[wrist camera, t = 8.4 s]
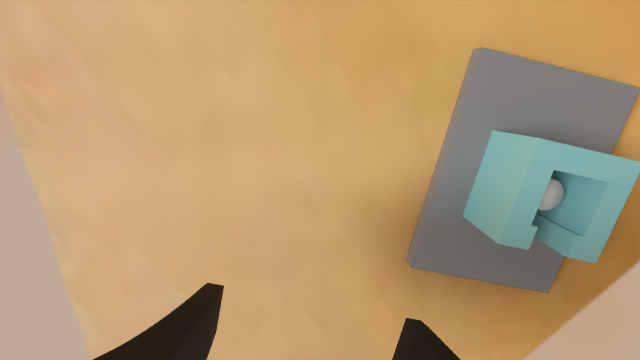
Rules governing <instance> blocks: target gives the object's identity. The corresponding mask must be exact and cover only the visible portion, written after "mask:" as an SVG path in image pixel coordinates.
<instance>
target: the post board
mask: <svg viewBox="0 0 640 360" xmlns="http://www.w3.org/2000/svg"><path fill="white" fill-rule="evenodd" d="M639 91H640V88H639V87H635V86H631V85H627V84H624V83H620V82H616V81H612V80H608V79H604V78H600V77H596V76H592V75H588V74H584V73H580V72H577V71H573V70H569V69H565V68H561V67H557V66H553V65H549V64H545V63H541V62H537V61H533V60H530V59H526V58H522V57H518V56H514V55H510V54H506V53H502V52H498V51H494V50H490V49H486V48H483V47H481V48H478V49H475V50H473V52H472V55H471V58H470V61H469V64H468V68H467V71H466V74H465V77H464V80H463V83H462V86H461V90H460V93H459V96H458V99H457V102H456V105H455V108H454V112H453V115H452V118H451V121H450V124H449V127H448V130H447V133H446V137H445V140H444V143H443V146H442V149H441V152H440V155H439V159H438V162H437V165H436V168H435V171H434V174H433V177H432V181H431V184H430V187H429V190H428V193H427V196H426V199H425V203H424V206H423V209H422V212H421V215H420V218H419V221H418V225H417V228H416V231H415V234H414V237H413V240H412V243H411V247H410V250H409V253H408V256H407V259H406V260H407V262H408V264H409V265H410V267H412V268H417V269H422V270H428V271H433V272H438V273H443V274H449V275H454V276H459V277H464V278H470V279H475V280H480V281H485V282H491V283H496V284H501V285H506V286H512V287H517V288H522V289H527V290H533V291H538V292H543V293H549V291H550V289H551V286H552V284H553V282H554V280H555V277H556V275H557V273H558V271H559V269H560V266H561V264H562V262H563V260H564V257H565V256H563V255H562V254H560V253H559V252H557V251H555V250H554V249H552V248H550V247H549V246H547V245H546V244H544V243H542V242H541V241H539V240H538V239H536V238H533V241H532V243H531V246H530V248H529V250H526V249H521V248H516V247H511V246H506V245H501V244H498V243H496V242H495V241H494V240H493V239H491V238H490V237H489V236H487V235H486V234H485V233H484V232H482V231H481V230H480V229H478V228H477V227H476V226H474V225H473V224H472V223H471V222H469V221H468V220H467V219H465V218H464V217H463V213H464V210H465V208H466V205H467V202H468V199H469V196H470V193H471V191H472V188H473V185H474V182H475V179H476V176H477V174H478V171H479V168H480V165H481V162H482V159H483V157H484V154H485V151H486V148H487V145H488V142H489V139H490V137H491V134H492V131H493V130H495V131H501V132H506V133H512V134H518V135H524V136H530V137H535V138H541V139H545V140H549V141H554V142H558V143H562V144H567V145H571V146H575V147H579V148H584V149H588V150H592V151H597V152H601V153H605V154H609V155H611V153H612V151H613V149H614V147H615V144H616V142H617V140H618V138H619V136H620V133H621V131H622V129H623V127H624V124H625V122H626V120H627V118H628V116H629V113H630V111H631V109H632V107H633V105H634V102H635V100H636V98H637V96H638V93H639ZM563 195H564V189H563V186H562V184H561V183H560V182H559V181H557V180H554V179H551V178H550V181H549V183H548V186H547V188H546V191H545V193H544V195H543V198H542V200H541V203H540V205H539V208H538V209H539V210H550V209H553V208H554V207H556V206H557V205H558V204H559V203H560V202H561V200H562V198H563Z"/></svg>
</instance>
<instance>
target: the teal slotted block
mask: <svg viewBox="0 0 640 360" xmlns="http://www.w3.org/2000/svg"><path fill="white" fill-rule="evenodd" d="M639 173H640V162H639V161H635V160H631V159H627V158H622V157H618V156H614V155H609V154H605V153H601V152H597V151H592V150H588V149H584V148H579V147H575V146H571V145H567V144H562V143H558V142H554V141H549V140H545V139H541V138H535V137H530V136H524V135H518V134H512V133H506V132H501V131H495V130H493V131H492V134H491V137H490V139H489V142H488V145H487V148H486V151H485V154H484V157H483V159H482V162H481V165H480V168H479V171H478V174H477V176H476V179H475V182H474V185H473V188H472V191H471V193H470V196H469V199H468V202H467V205H466V208H465V210H464V213H463V217H464V218H465V219H467V220H468V221H469V222H471V223H472V224H473V225H474V226H476V227H477V228H478V229H480V230H481V231H482V232H484V233H485V234H486V235H487V236H489V237H490V238H491V239H493V240H494V241H495V242H496V243H498V244H501V245H506V246H511V247H516V248H521V249H526V250H529V248H530V246H531V243H532V241H533V238H536V239H538V240H539V241H541V242H542V243H544V244H546V245H547V246H549V247H550V248H552V249H554V250H555V251H557V252H559V253H560V254H562V255H563V256H565V257H567V258H571V259H576V260H581V261H586V262H590V263H595V264H596V263H597V261H598V259H599V257H600V255H601V252H602V250H603V248H604V246H605V244H606V242H607V240H608V238H609V236H610V234H611V232H612V230H613V227H614V225H615V223H616V221H617V219H618V217H619V215H620V213H621V211H622V209H623V207H624V205H625V202H626V200H627V198H628V196H629V194H630V192H631V190H632V188H633V186H634V184H635V182H636V180H637V177H638V175H639ZM550 178H551V179H554V180H557V181H559V182H560V183H561V184H562V186H563V189H564V195H563V198H562V200H561V202H560V203H559V204H558V205H557V206H556V207H554V208H553V209H550V210H539V209H538V208H539V205H540V203H541V200H542V198H543V195H544V193H545V191H546V188H547V186H548V183H549V181H550Z"/></svg>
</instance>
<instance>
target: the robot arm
mask: <svg viewBox="0 0 640 360" xmlns="http://www.w3.org/2000/svg"><path fill="white" fill-rule="evenodd" d="M223 288H224V286H222V285H217V284H211V283H207V284H205V285H204V286H203V287H202V288H200V289H199V290H198V291H197V292H196V293H195V294H193V295H192V296H191V297H190V298H189V299H187V300H186V301H185V302H184V303H183V304H181V305H180V306H179V307H177V308H176V309H175V310H174V311H172V312H171V313H170V314H168V315H167V316H166V317H164V318H163V319H161V320H160V321H159V322H157V323H156V324H154V325H153V326H151V327H150V328H148V329H147V330H145V331H144V332H142V333H141V334H139V335H138V336H136V337H134V338H133V339H131V340H129V341H128V342H126V343H124V344H122V345H121V346H119V347H117V348H115V349H113V350H111V351H109V352H107V353H105V354H103V355H101V356H99V357H97V358H95V359H93V360H206V359H207V357H208V354H209V351H210V348H211V345H212V342H213V339H214V337H215V334H216V330H217V324H218V318H219V312H220V306H221V300H222V294H223ZM392 360H460V359H459V358H458V357H457V356H456V355H455V354H454V353H453V352H452V351H451V350H450V349H449V348H448V347H447V346H446V345H445V344H444V343H443V342H442V341H441V339H440V338H439V337H438V336H437V335H436V334H435V333H434V332H433V331H432V330H431V329H430V328H429V327H428V326H426V325H425V324H424V323H423V322H422V321H421V320H415V319H409V318H406V320H405V323H404V326H403V329H402V332H401V335H400V338H399V341H398V344H397V347H396V350H395V353H394V356H393V359H392Z"/></svg>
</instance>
